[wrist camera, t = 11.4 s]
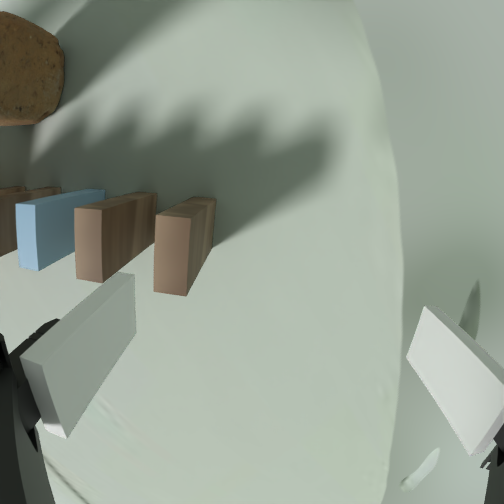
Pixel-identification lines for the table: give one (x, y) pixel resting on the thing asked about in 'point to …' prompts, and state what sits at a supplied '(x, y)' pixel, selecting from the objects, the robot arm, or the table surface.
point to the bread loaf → (28, 71)
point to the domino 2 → (49, 227)
